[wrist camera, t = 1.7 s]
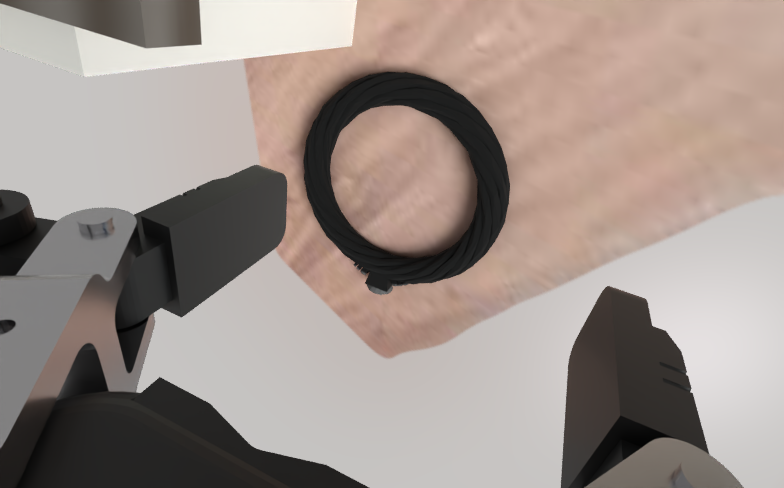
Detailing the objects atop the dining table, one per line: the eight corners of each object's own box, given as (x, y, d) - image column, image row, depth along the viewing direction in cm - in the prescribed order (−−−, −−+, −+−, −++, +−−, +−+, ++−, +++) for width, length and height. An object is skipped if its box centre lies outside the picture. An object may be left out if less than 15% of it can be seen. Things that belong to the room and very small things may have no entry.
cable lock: (543, 109, 42) (465, 332, 57) (546, 103, 45) (472, 316, 60) (302, 48, 49) (292, 261, 64) (320, 47, 52) (306, 250, 67)
